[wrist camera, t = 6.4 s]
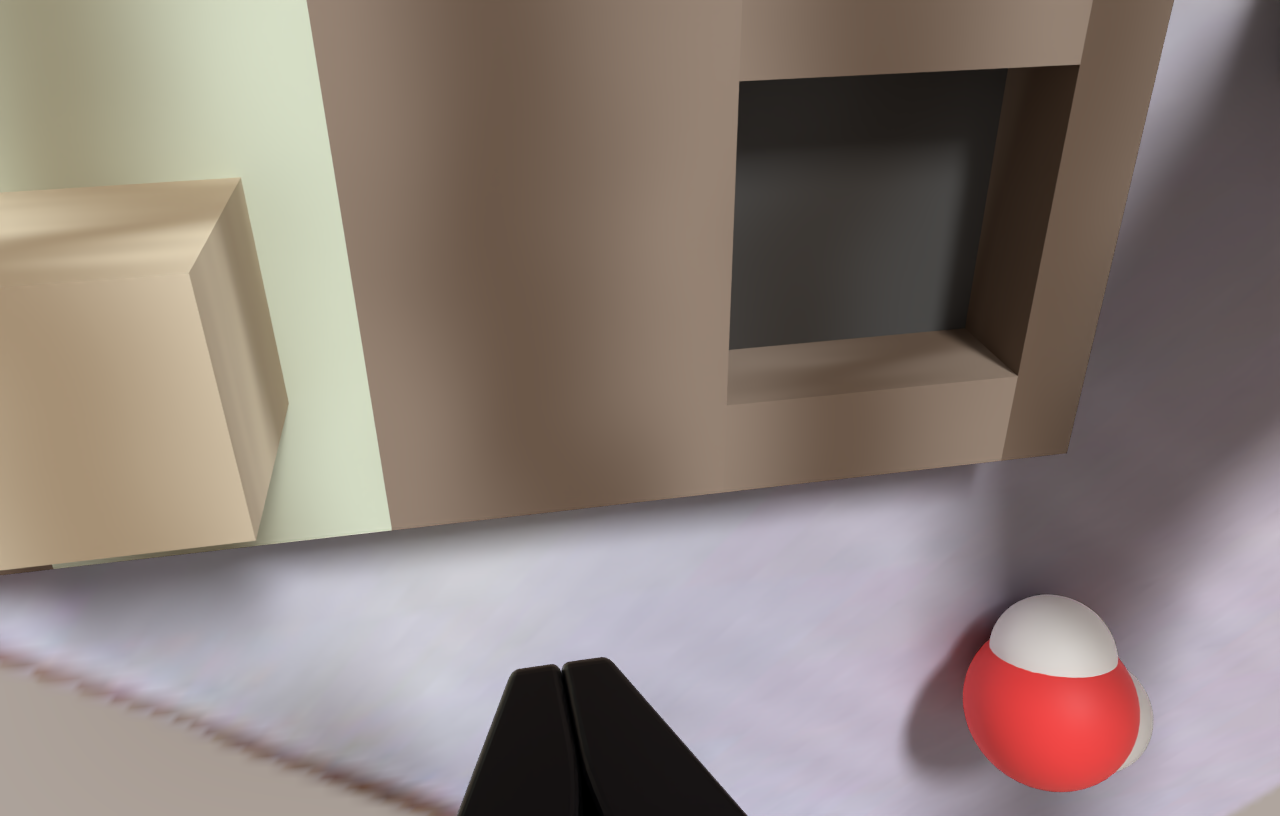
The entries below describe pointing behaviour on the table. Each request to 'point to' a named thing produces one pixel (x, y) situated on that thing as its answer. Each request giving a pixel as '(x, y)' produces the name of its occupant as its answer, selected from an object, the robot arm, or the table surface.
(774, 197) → the trap box
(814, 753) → the table surface
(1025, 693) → the molecule
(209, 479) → the block
